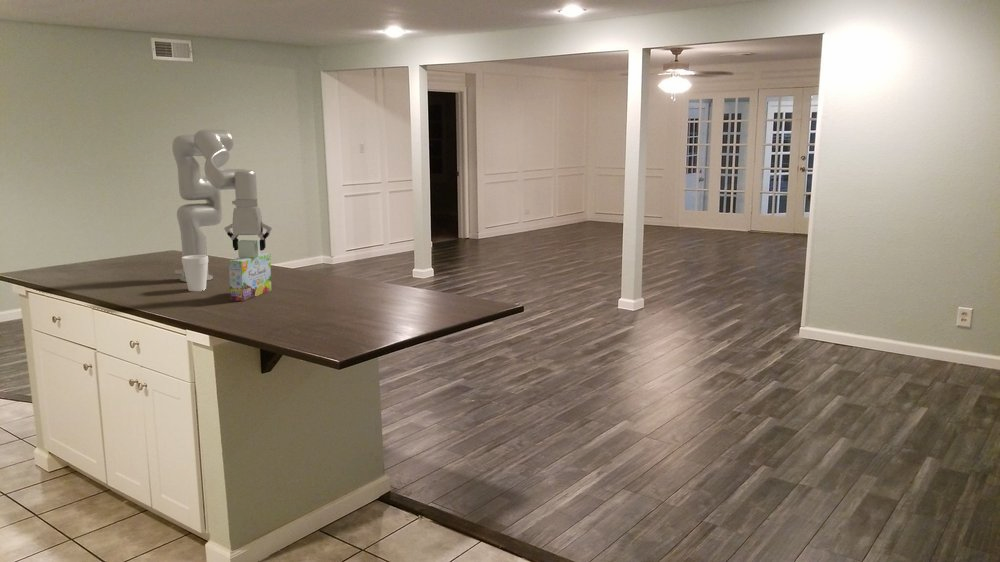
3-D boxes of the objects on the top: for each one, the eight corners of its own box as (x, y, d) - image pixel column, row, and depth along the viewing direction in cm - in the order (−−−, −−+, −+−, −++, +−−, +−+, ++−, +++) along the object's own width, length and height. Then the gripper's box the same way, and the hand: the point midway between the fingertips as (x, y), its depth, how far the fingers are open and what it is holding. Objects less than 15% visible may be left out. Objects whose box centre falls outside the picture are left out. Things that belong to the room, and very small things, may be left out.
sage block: (238, 257, 275) (237, 241, 274) (244, 255, 281) (243, 239, 280) (254, 257, 275) (253, 241, 274) (260, 255, 281) (259, 239, 279)
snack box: (243, 302, 270) (241, 260, 267) (229, 301, 271) (227, 260, 268) (272, 290, 290) (270, 252, 287) (259, 290, 291) (257, 251, 288)
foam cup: (178, 290, 289) (176, 257, 286) (198, 286, 297) (196, 254, 295) (195, 293, 284) (193, 259, 282) (215, 288, 293) (213, 256, 290)
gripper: (219, 204, 271) (222, 251, 274) (266, 205, 270) (269, 251, 273) (227, 203, 278) (230, 248, 281) (273, 203, 278) (275, 248, 281)
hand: (249, 250), depth 277 cm, fingers open, 9 cm apart
